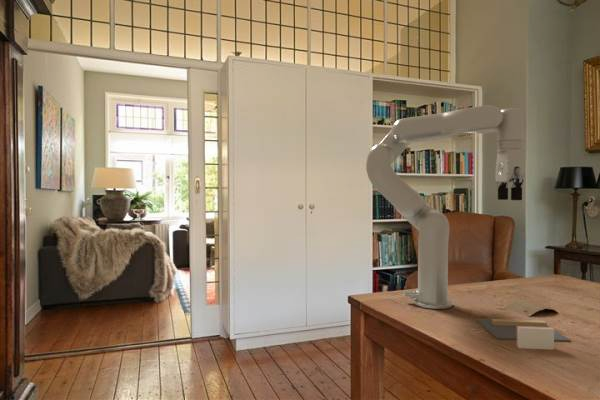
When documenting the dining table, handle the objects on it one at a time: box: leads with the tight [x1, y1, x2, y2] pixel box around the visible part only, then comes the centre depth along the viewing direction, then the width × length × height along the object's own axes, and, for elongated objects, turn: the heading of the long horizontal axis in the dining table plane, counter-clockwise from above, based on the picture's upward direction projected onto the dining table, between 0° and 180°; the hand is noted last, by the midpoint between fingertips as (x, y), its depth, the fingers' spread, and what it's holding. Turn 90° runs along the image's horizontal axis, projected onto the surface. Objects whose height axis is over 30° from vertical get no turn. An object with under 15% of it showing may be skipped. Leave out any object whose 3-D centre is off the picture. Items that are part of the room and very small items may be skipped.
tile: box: [515, 326, 555, 350], centre depth 99 cm, size 8×2×5 cm, turn 85°
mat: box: [475, 318, 572, 343], centre depth 112 cm, size 18×16×2 cm
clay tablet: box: [504, 299, 559, 318], centre depth 131 cm, size 14×10×3 cm
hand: (509, 199), depth 133 cm, fingers open, 9 cm apart
